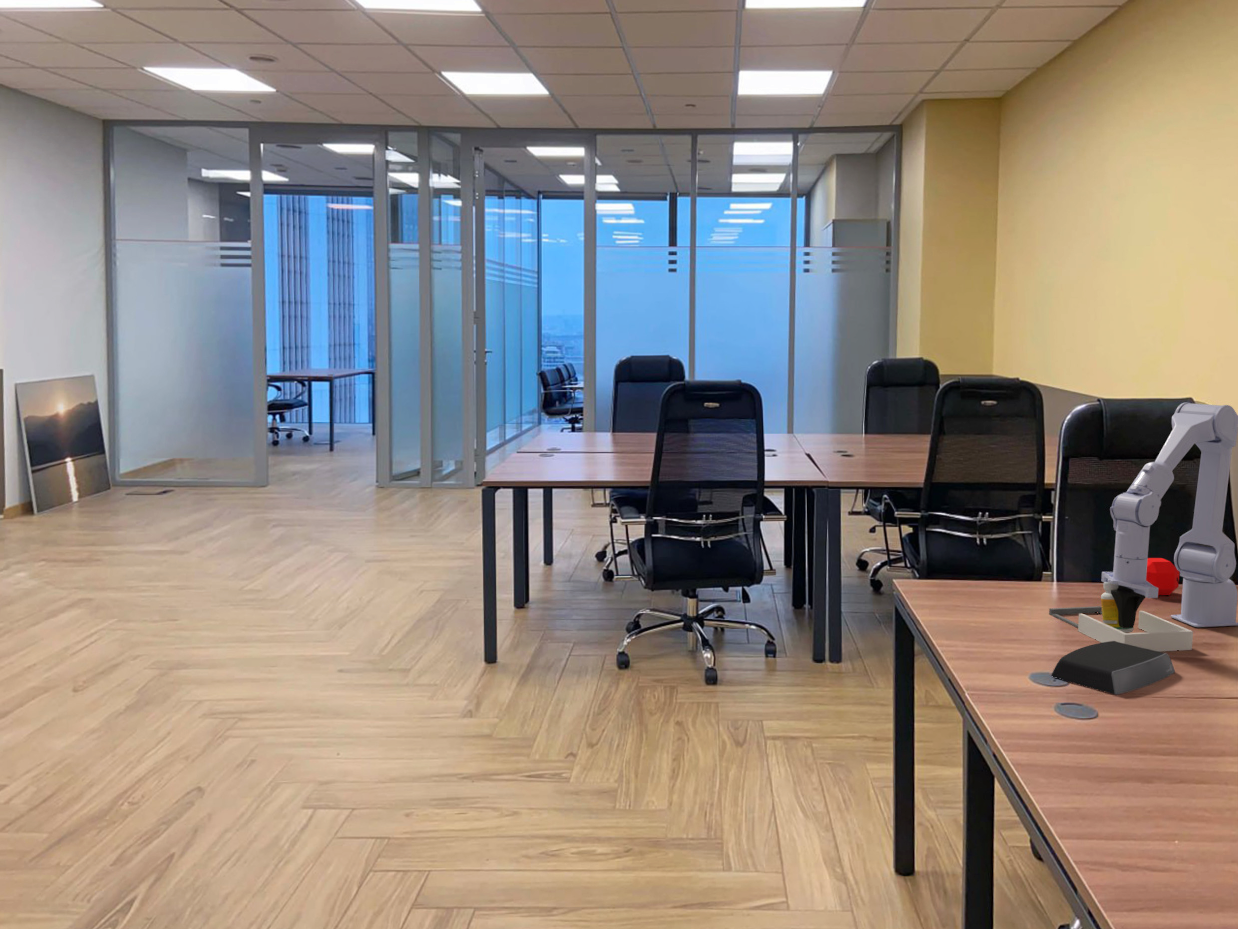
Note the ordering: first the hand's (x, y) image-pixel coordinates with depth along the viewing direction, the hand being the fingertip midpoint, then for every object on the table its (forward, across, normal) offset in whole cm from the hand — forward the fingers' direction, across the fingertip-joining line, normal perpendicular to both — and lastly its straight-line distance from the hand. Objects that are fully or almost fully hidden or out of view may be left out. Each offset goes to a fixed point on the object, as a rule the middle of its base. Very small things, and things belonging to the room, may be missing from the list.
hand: (1125, 626), depth 208 cm
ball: (+1, -30, +28) cm, 41 cm away
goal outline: (+2, -13, +1) cm, 13 cm away
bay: (+2, +1, +1) cm, 3 cm away
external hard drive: (+4, +20, -15) cm, 25 cm away
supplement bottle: (+2, -3, 0) cm, 3 cm away
